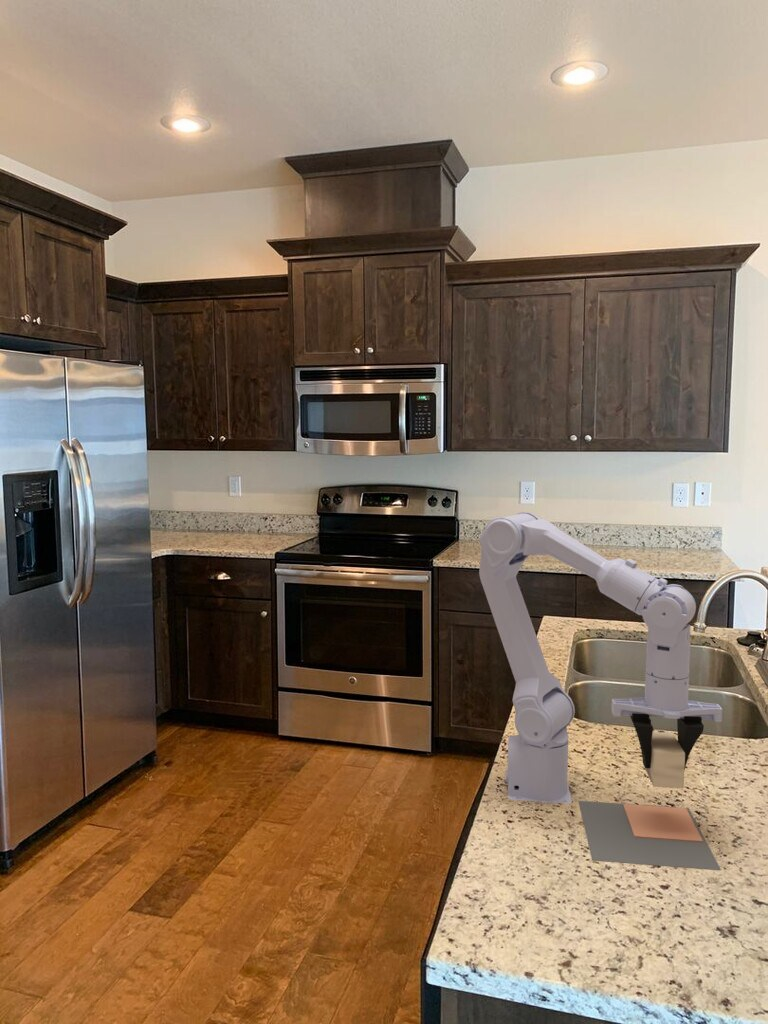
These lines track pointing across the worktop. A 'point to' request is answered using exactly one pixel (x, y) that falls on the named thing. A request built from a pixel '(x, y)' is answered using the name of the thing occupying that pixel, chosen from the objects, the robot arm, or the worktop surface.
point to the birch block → (666, 761)
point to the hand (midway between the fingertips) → (663, 766)
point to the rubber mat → (645, 835)
